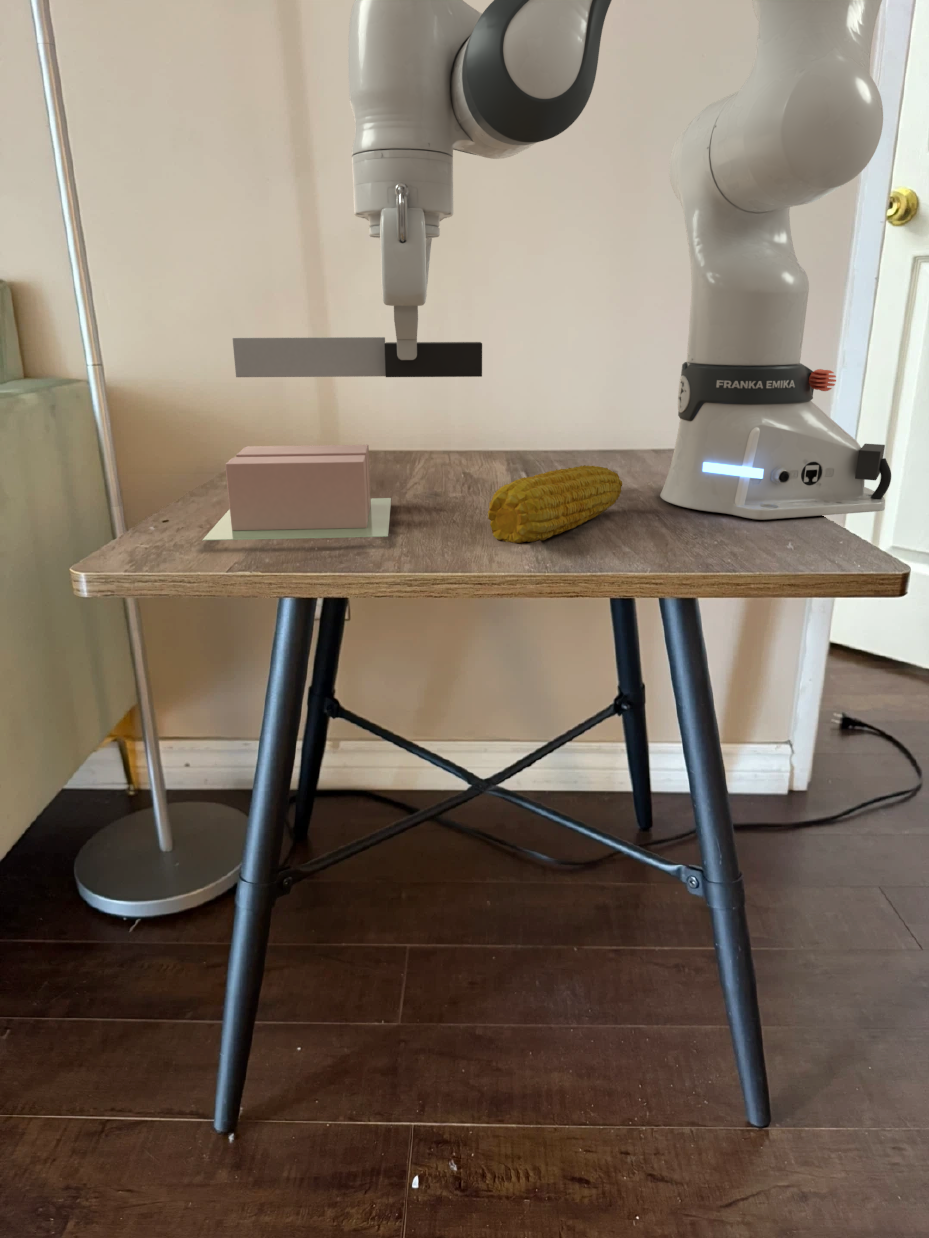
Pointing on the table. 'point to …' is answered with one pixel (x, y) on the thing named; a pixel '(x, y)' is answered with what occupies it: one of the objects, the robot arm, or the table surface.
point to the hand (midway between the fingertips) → (407, 358)
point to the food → (551, 502)
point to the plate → (375, 528)
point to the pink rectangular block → (311, 454)
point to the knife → (352, 358)
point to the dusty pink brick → (297, 492)
